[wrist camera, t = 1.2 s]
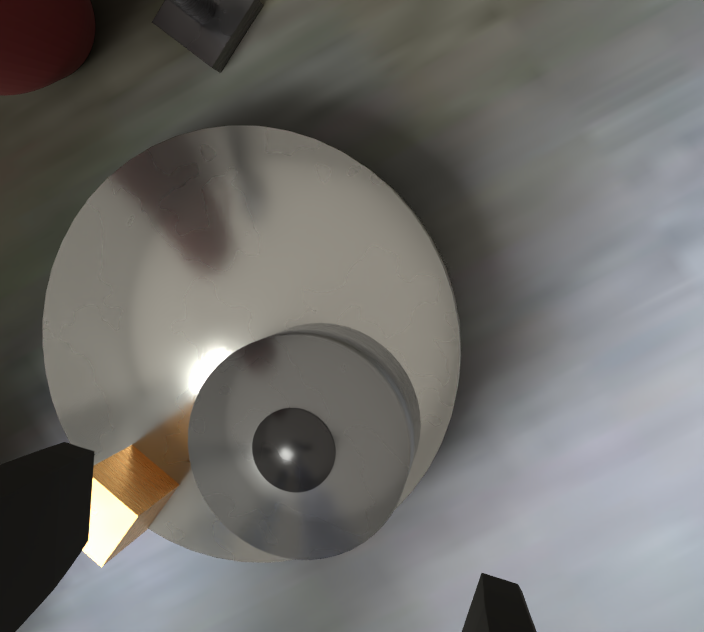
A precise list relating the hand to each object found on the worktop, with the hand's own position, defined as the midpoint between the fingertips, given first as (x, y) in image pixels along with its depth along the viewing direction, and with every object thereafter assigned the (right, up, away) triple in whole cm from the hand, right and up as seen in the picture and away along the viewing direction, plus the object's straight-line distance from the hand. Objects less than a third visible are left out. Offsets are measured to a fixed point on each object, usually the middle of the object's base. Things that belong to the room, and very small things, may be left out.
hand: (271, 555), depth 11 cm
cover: (0, +1, +12) cm, 12 cm away
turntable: (-3, +3, +13) cm, 14 cm away
